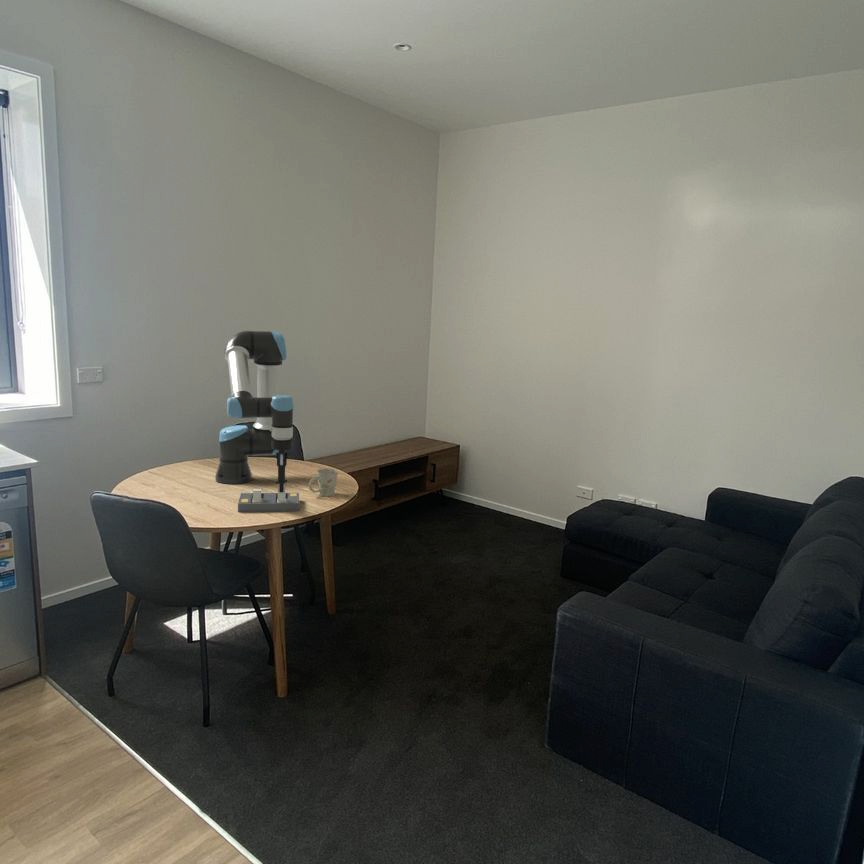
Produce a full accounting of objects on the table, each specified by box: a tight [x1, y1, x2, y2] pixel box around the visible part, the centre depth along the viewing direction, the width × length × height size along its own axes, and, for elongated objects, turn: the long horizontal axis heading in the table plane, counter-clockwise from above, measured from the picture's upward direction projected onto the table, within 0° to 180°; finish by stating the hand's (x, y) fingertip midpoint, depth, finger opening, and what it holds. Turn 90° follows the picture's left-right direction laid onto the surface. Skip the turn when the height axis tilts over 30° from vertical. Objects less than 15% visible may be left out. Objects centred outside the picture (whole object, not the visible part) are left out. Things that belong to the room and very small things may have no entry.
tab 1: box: [252, 488, 262, 503], centre depth 230 cm, size 4×3×6 cm
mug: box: [308, 468, 338, 498], centre depth 250 cm, size 8×13×10 cm, turn 133°
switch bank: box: [237, 492, 300, 513], centre depth 234 cm, size 14×22×3 cm, turn 102°
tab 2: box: [277, 489, 287, 503], centre depth 231 cm, size 4×3×6 cm
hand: (281, 499), depth 229 cm, fingers closed
